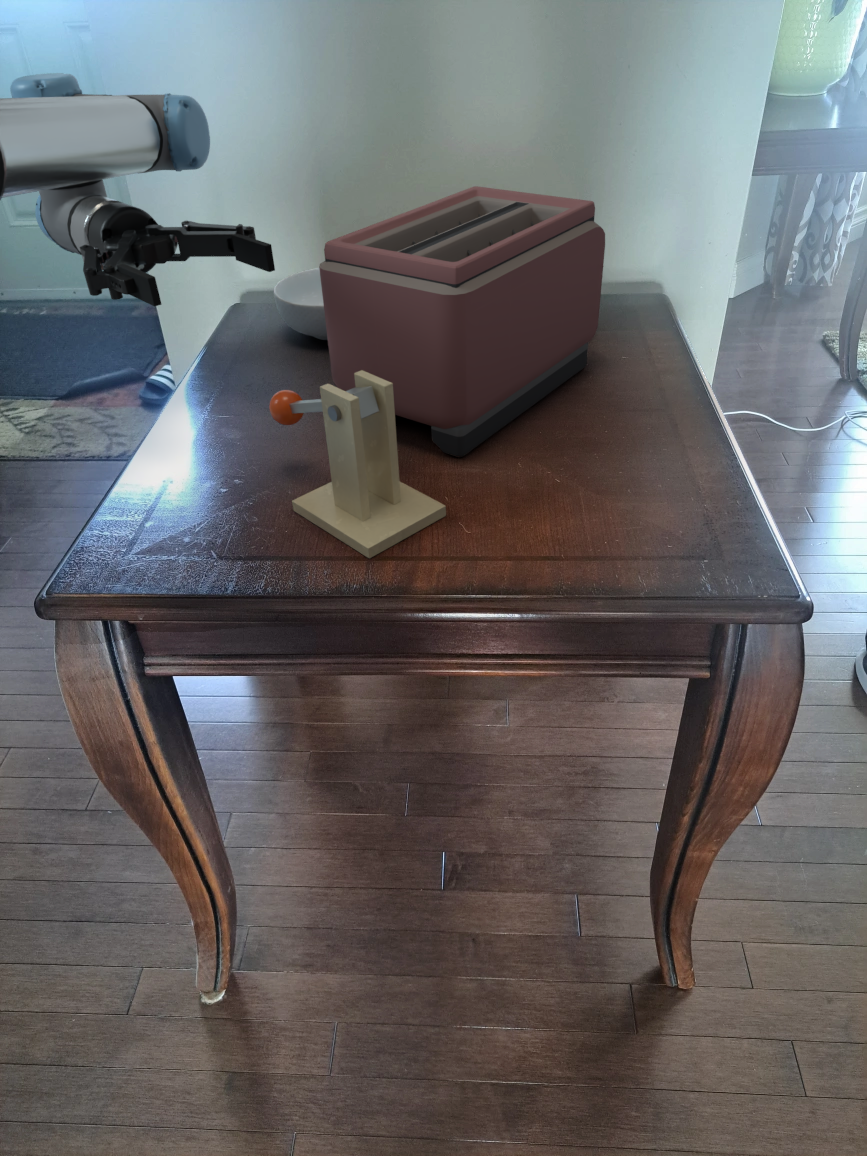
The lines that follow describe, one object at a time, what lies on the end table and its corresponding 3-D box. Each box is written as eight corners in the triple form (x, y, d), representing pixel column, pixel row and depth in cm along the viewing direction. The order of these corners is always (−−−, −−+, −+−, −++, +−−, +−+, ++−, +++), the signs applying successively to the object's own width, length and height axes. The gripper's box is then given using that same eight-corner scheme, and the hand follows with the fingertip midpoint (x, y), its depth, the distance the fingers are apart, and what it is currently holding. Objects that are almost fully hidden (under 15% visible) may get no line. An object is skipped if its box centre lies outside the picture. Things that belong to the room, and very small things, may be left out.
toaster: (611, 354, 112) (627, 191, 100) (460, 466, 90) (457, 273, 77) (491, 327, 122) (492, 175, 109) (327, 423, 99) (305, 244, 86)
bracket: (293, 510, 84) (272, 383, 76) (368, 473, 89) (356, 351, 81) (369, 558, 77) (355, 424, 68) (446, 515, 82) (442, 386, 74)
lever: (270, 430, 87) (258, 397, 85) (297, 418, 89) (286, 386, 87) (357, 428, 74) (345, 389, 73) (387, 415, 76) (376, 376, 75)
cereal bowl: (291, 311, 130) (284, 265, 126) (396, 309, 129) (393, 263, 125) (270, 354, 116) (261, 304, 112) (387, 352, 116) (383, 301, 111)
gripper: (216, 245, 106) (317, 280, 93) (24, 296, 93) (111, 345, 80) (204, 181, 101) (308, 209, 89) (0, 226, 88) (88, 266, 75)
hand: (215, 274), depth 84 cm, fingers open, 13 cm apart
